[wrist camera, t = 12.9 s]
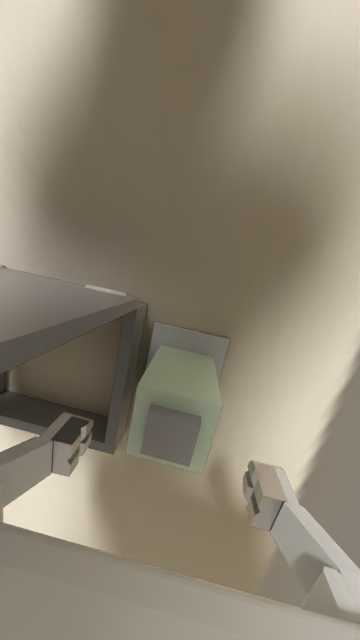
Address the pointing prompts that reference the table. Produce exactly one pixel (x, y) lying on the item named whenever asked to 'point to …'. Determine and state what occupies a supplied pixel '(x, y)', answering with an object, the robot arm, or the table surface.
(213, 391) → the block
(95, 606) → the robot arm
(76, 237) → the table surface
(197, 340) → the pad
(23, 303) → the case
